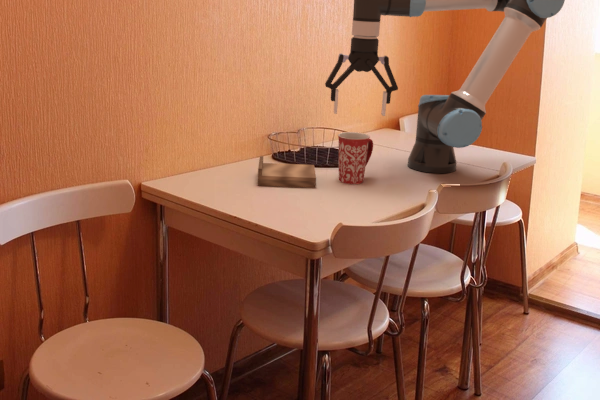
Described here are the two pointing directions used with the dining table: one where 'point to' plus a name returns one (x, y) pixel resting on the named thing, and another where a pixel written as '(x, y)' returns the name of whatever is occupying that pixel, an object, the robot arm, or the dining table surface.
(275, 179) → the dock
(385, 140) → the dining table surface
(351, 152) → the mug
